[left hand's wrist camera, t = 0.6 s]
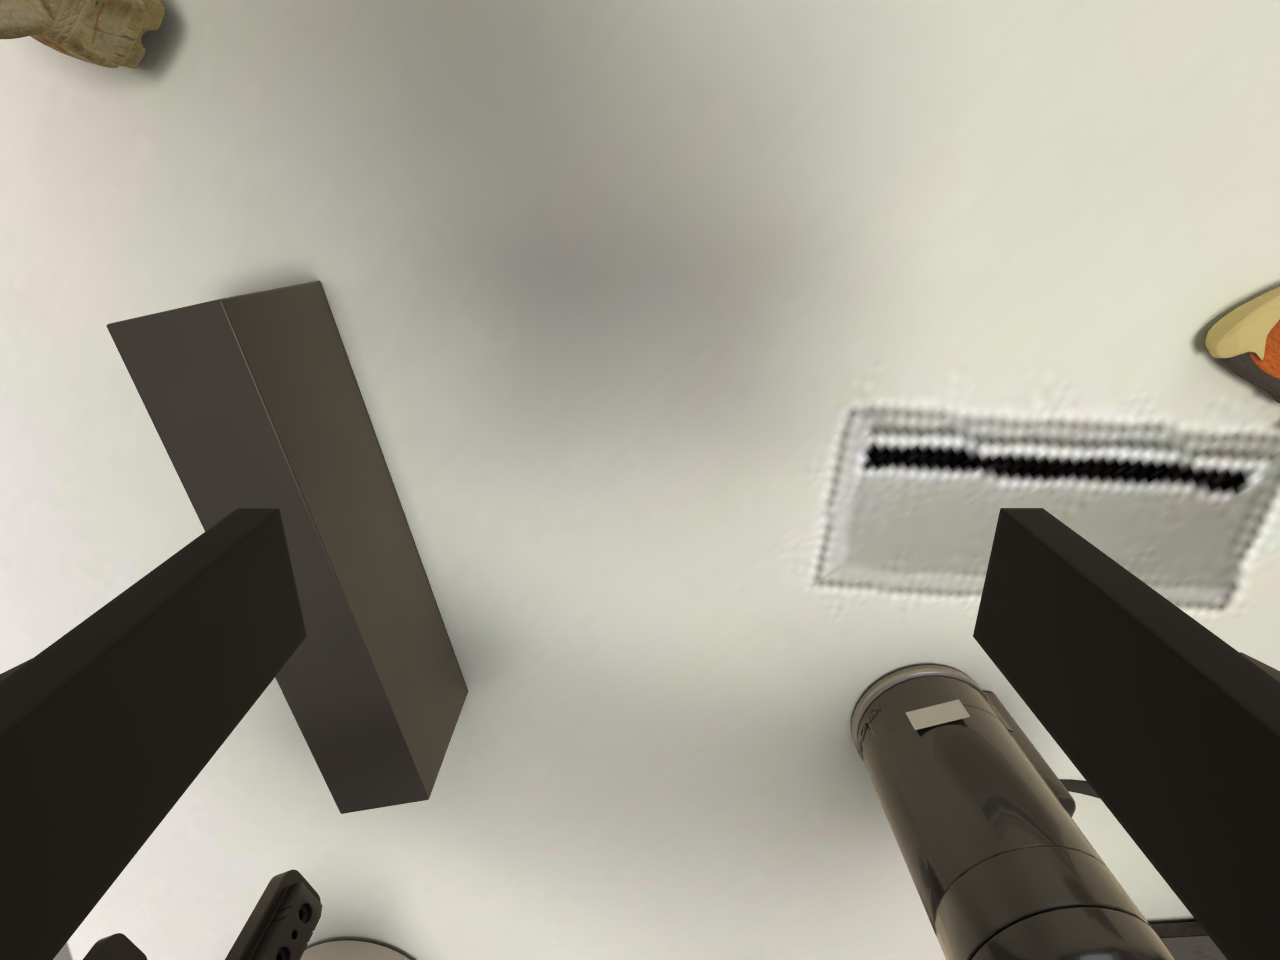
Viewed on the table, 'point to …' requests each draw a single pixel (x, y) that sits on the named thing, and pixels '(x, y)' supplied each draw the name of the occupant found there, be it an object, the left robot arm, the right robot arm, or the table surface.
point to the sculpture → (85, 27)
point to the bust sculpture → (351, 951)
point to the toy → (1187, 941)
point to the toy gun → (1251, 341)
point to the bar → (310, 525)
